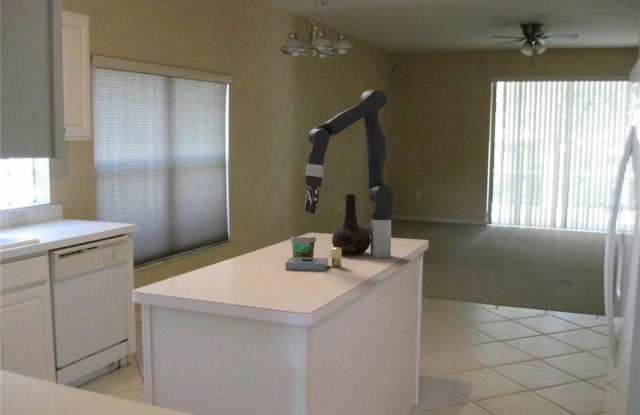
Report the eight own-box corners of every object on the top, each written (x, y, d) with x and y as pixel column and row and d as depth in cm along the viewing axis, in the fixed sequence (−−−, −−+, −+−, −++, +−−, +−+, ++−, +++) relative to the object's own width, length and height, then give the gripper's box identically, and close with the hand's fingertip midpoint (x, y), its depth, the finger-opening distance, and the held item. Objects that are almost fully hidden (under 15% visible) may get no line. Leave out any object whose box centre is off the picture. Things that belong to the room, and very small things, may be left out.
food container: (285, 258, 285) (285, 236, 284) (292, 256, 291) (292, 234, 289) (309, 261, 279) (309, 238, 278) (315, 259, 285) (316, 236, 284)
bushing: (341, 266, 269) (342, 247, 268) (340, 268, 265) (341, 249, 265) (332, 265, 270) (332, 247, 269) (331, 267, 266) (331, 248, 265)
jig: (328, 265, 271) (328, 258, 271) (324, 270, 259) (324, 263, 259) (291, 263, 273) (291, 257, 273) (285, 269, 262) (285, 262, 261)
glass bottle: (376, 255, 294) (377, 195, 291) (341, 258, 287) (341, 196, 284) (360, 249, 310) (360, 192, 307) (326, 251, 304) (326, 193, 301)
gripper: (326, 176, 268) (322, 215, 269) (318, 175, 282) (314, 211, 283) (309, 174, 266) (305, 213, 267) (301, 173, 280) (297, 210, 281)
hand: (309, 212), depth 275 cm, fingers open, 8 cm apart
